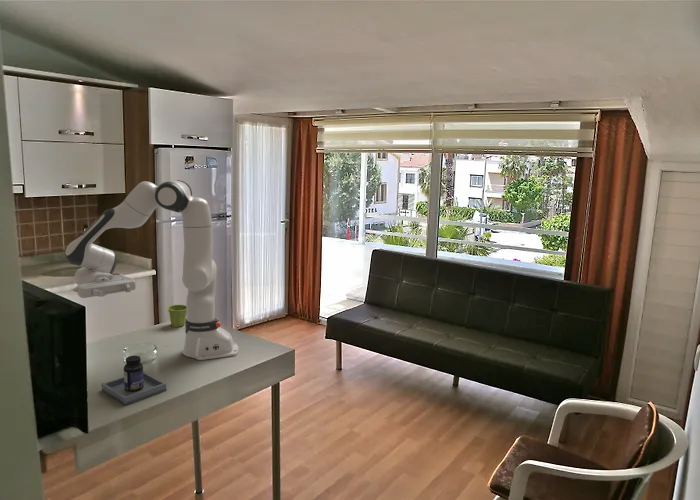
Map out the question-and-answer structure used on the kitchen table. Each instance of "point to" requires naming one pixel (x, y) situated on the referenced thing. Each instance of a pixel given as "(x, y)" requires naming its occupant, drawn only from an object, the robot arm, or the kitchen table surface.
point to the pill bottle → (133, 374)
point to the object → (177, 315)
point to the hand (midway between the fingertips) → (116, 292)
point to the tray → (127, 397)
